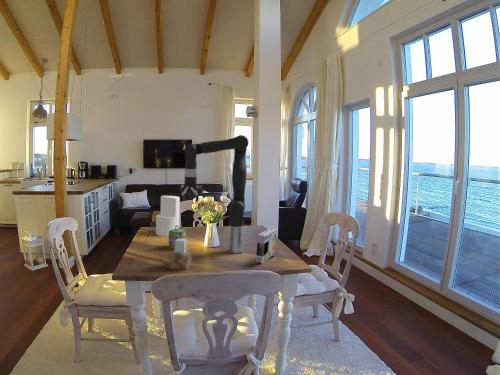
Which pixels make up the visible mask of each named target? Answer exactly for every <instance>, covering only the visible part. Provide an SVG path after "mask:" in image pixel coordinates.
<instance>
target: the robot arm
mask: <svg viewBox="0 0 500 375" xmlns="http://www.w3.org/2000/svg"><path fill="white" fill-rule="evenodd" d="M249 144H250V143H249V139H248V137H246V136H245V135H242V134H240V135H237V136H235V137H231V138H228V139H222V140H213V141H205V142H201V143H190V144H187V145H186V146H185V149H184V150H185V151H184V153H185V163H184V164H185V166H184V167H185V170H184V183H183V184H179V186H178V195H181V201H182V202H185V194H186V193H193V194H194V195H195V203H198V201H199V197H200V196H201V195H202V194H203V193H202V185H198V184H197V180H198V178H197V177H198V175H197V174H198V172H197V169H198V168H197V165H198V164H197V155H201V154H211V153H218V152H221V151H226V150H227V151H228V150H233V151H234V152H233V154H234V157H233V164H232V169H231V170H232V171H231V184H232V191H233V193H232V195H233V196H232V203H230V205H229V210H228V211H229V212H228V214H229V215H228V222H229V230H228V252H229V253H232V254H240V253H239V252H242V253H243V252H244V229H245V228H244V226H245V222H244V213H245V211H246V210H245V209H246V204H245V203H246V202H245V201H246V200H245V194H246V193H245V191H246V187H247V186H246V184H247V172H248V171H247V170H248V169H247V160H246V159H247V158H246V157H247V156H246V155H247V148H248V146H249ZM183 188H184V190H183ZM197 189H198V191H197Z"/></svg>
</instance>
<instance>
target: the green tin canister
mask: <svg viewBox="0 0 500 375" xmlns="http://www.w3.org/2000/svg"><path fill="white" fill-rule="evenodd" d="M176 227H177V229H176ZM186 236H187V230H186V229H184V228H183V229H181V228H179V229H178V225H176V226H175V229H172V230H170V231H169V236H168V249H170V250H172V249H173V250H174V249H175V241H176V240H177V239H178V238H181V239H187V237H186Z"/></svg>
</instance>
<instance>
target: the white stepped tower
mask: <svg viewBox="0 0 500 375" xmlns="http://www.w3.org/2000/svg"><path fill="white" fill-rule="evenodd" d="M176 225H178V229H180V196H178V195H177V196H176V195H161V196H160V213H158V214H156V215H155V234H156V235H157V236H160V237H169V231H170V230H172V229H175V226H176ZM176 229H177V227H176Z"/></svg>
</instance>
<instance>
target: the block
mask: <svg viewBox="0 0 500 375" xmlns="http://www.w3.org/2000/svg"><path fill="white" fill-rule="evenodd" d="M187 243H188V240H187V238H186V239H181V238H178V239H177V240H176V241H175V253H181V254H184V253H185V252H186V250H187V249H188V248H187V246H188V244H187Z"/></svg>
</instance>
